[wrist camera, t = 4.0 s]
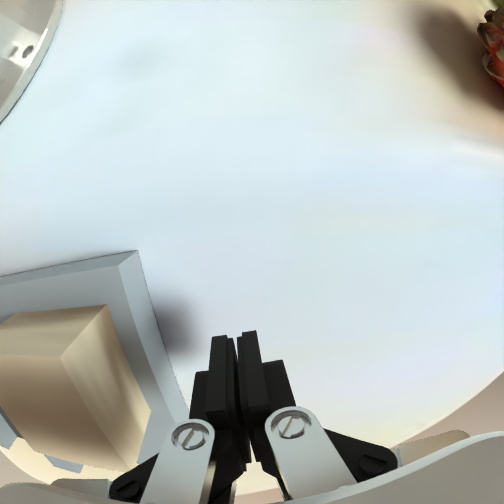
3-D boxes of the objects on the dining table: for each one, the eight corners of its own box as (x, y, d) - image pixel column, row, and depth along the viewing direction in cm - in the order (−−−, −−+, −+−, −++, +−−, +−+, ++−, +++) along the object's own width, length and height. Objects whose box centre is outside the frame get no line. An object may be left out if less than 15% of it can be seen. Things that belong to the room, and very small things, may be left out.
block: (16, 312, 10) (-31, 349, 6) (107, 303, 10) (59, 357, 6) (61, 405, 11) (34, 451, 8) (150, 411, 12) (133, 473, 8)
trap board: (-66, 291, 11) (-82, 300, 9) (137, 250, 12) (118, 265, 10) (3, 429, 15) (-6, 442, 13) (211, 461, 16) (210, 487, 14)
